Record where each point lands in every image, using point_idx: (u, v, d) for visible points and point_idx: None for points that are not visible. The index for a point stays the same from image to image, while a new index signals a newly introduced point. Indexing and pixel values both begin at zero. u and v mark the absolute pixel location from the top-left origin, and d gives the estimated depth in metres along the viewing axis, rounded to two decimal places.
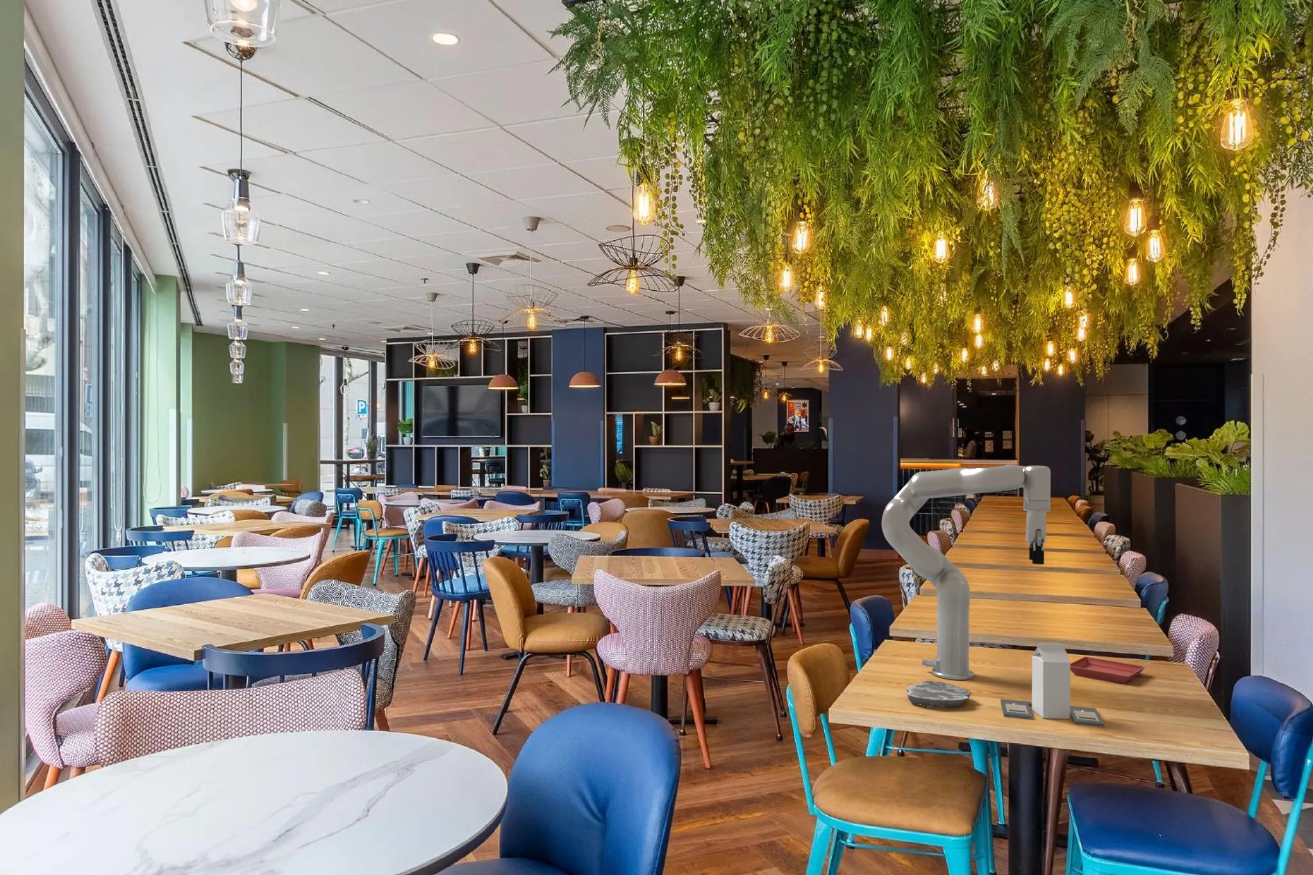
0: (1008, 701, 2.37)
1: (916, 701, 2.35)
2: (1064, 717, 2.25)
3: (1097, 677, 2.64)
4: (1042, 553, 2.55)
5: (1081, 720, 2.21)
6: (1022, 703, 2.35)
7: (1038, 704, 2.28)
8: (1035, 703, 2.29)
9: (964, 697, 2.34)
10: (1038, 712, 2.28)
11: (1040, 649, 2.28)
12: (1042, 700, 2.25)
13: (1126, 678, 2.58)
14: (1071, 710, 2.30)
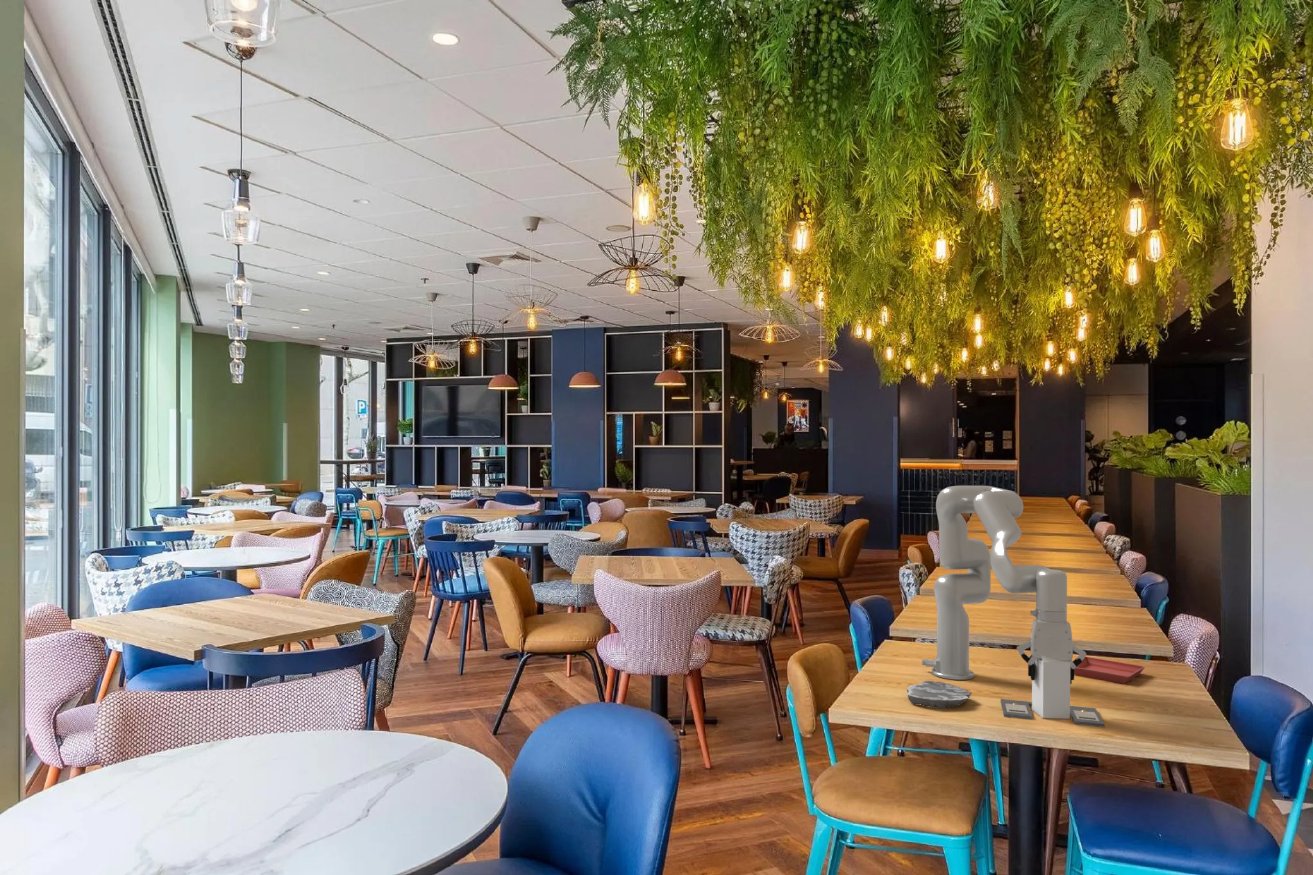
0: (1008, 701, 2.37)
1: (916, 701, 2.35)
2: (1064, 717, 2.25)
3: (1097, 677, 2.64)
4: None
5: (1081, 720, 2.21)
6: (1022, 703, 2.35)
7: (1038, 704, 2.28)
8: (1035, 703, 2.29)
9: (964, 697, 2.34)
10: (1038, 712, 2.28)
11: None
12: (1042, 700, 2.25)
13: (1126, 678, 2.58)
14: (1071, 710, 2.30)
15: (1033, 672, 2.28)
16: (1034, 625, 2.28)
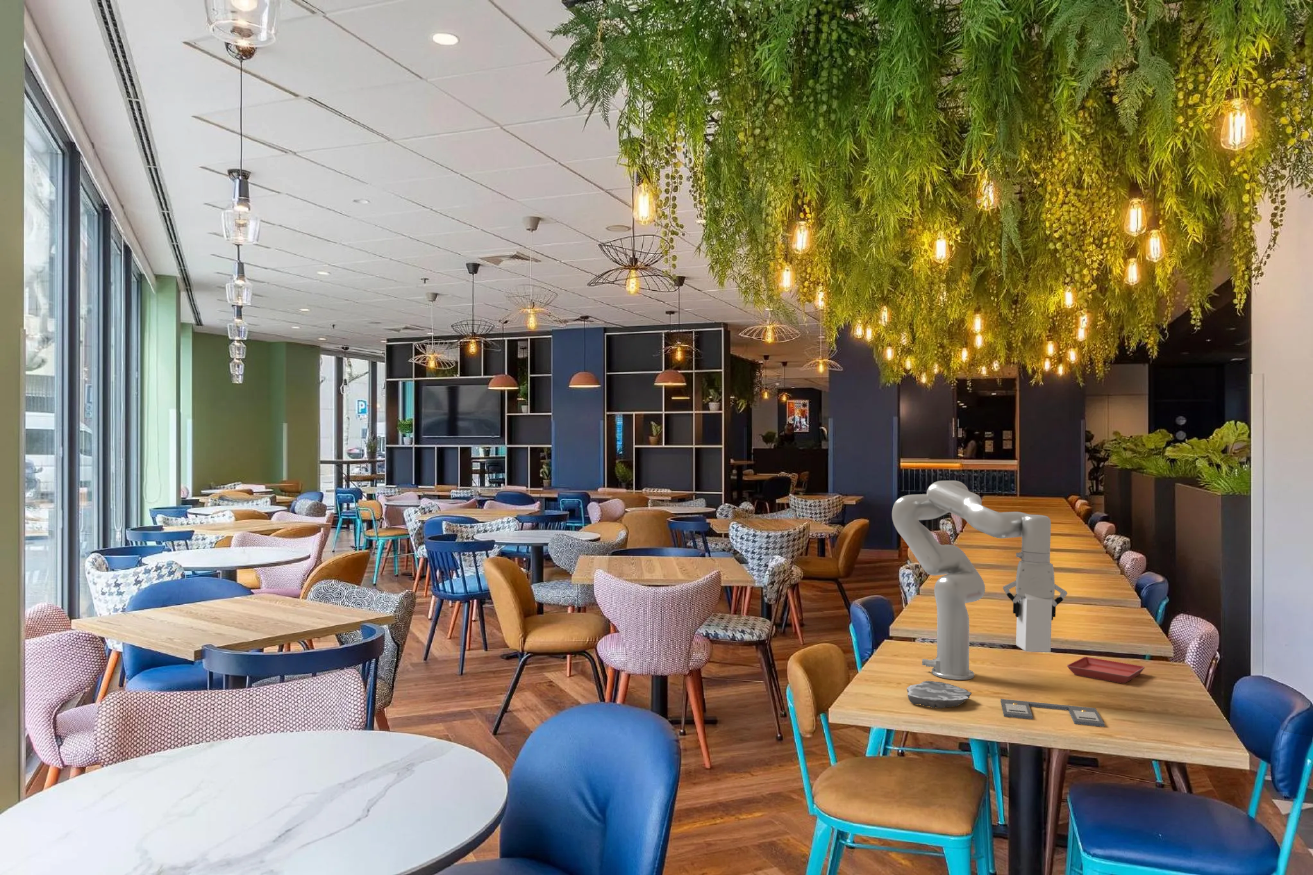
0: (1008, 701, 2.37)
1: (916, 701, 2.35)
2: (1045, 651, 2.42)
3: (1097, 677, 2.64)
4: None
5: (1081, 720, 2.21)
6: (1022, 703, 2.35)
7: (1021, 639, 2.45)
8: (1019, 638, 2.47)
9: (964, 697, 2.34)
10: (1021, 646, 2.45)
11: None
12: (1025, 635, 2.42)
13: (1126, 678, 2.58)
14: (1071, 710, 2.30)
15: (1017, 609, 2.46)
16: (1019, 566, 2.45)
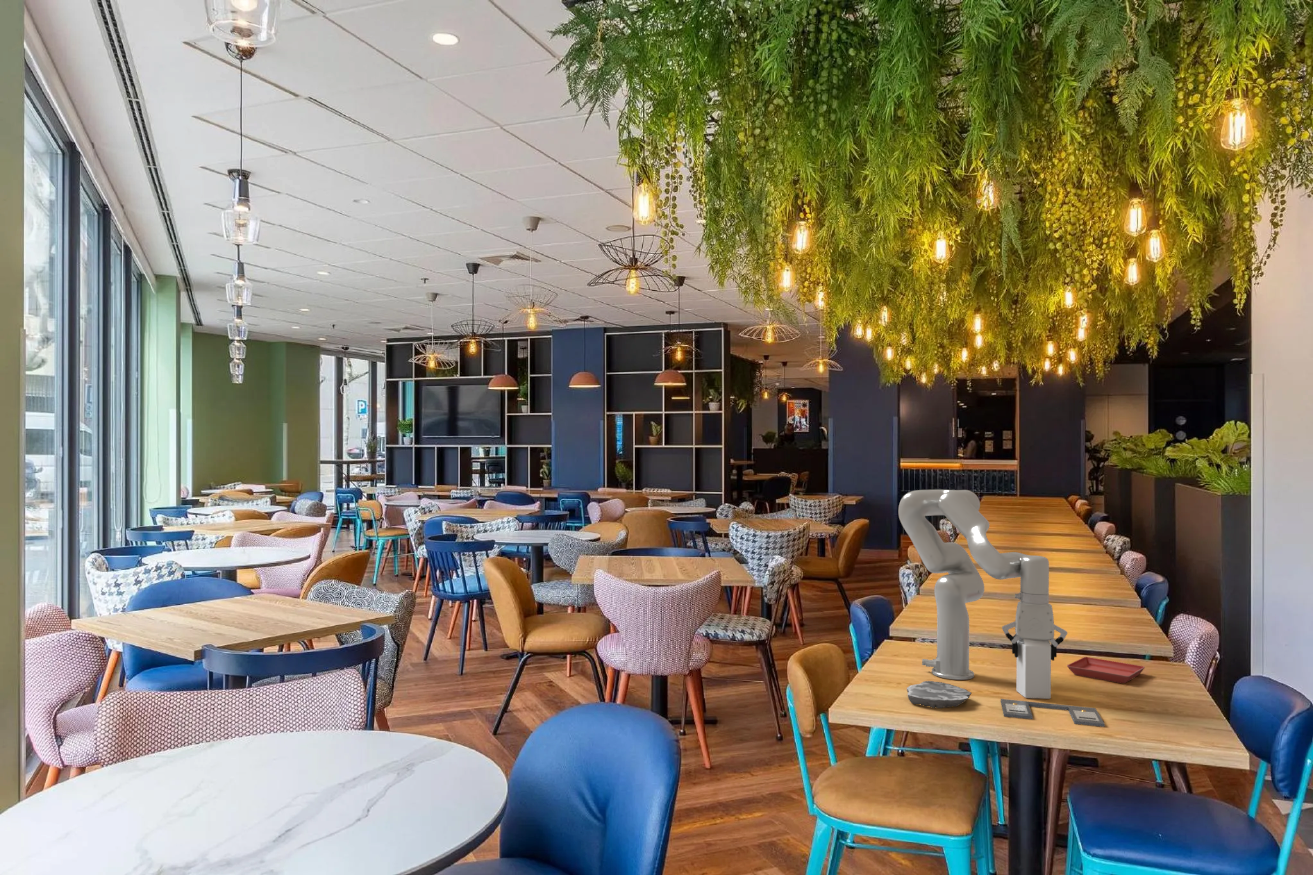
0: (1008, 701, 2.37)
1: (916, 701, 2.35)
2: (1045, 697, 2.42)
3: (1097, 677, 2.64)
4: None
5: (1081, 720, 2.21)
6: (1022, 703, 2.35)
7: (1021, 685, 2.46)
8: (1019, 684, 2.47)
9: (964, 697, 2.34)
10: (1021, 692, 2.46)
11: None
12: (1024, 681, 2.43)
13: (1126, 678, 2.58)
14: (1071, 710, 2.30)
15: (1016, 650, 2.46)
16: (1018, 607, 2.46)
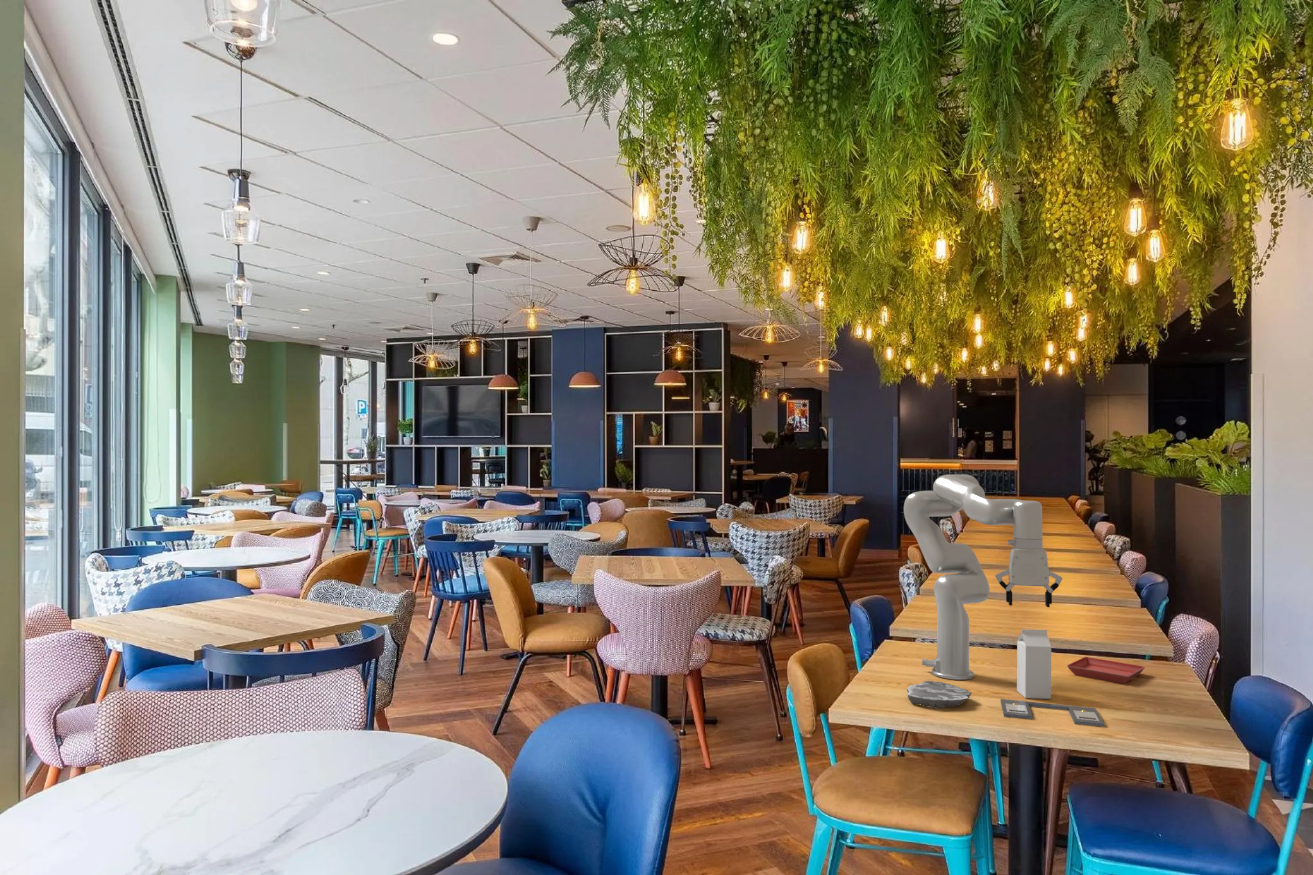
0: (1008, 701, 2.37)
1: (916, 701, 2.35)
2: (1045, 697, 2.42)
3: (1097, 677, 2.64)
4: None
5: (1081, 720, 2.21)
6: (1022, 703, 2.35)
7: (1021, 685, 2.46)
8: (1019, 684, 2.47)
9: (964, 697, 2.34)
10: (1021, 692, 2.46)
11: (1023, 634, 2.46)
12: (1025, 681, 2.43)
13: (1126, 678, 2.58)
14: (1071, 710, 2.30)
15: (1011, 598, 2.39)
16: (1012, 553, 2.39)
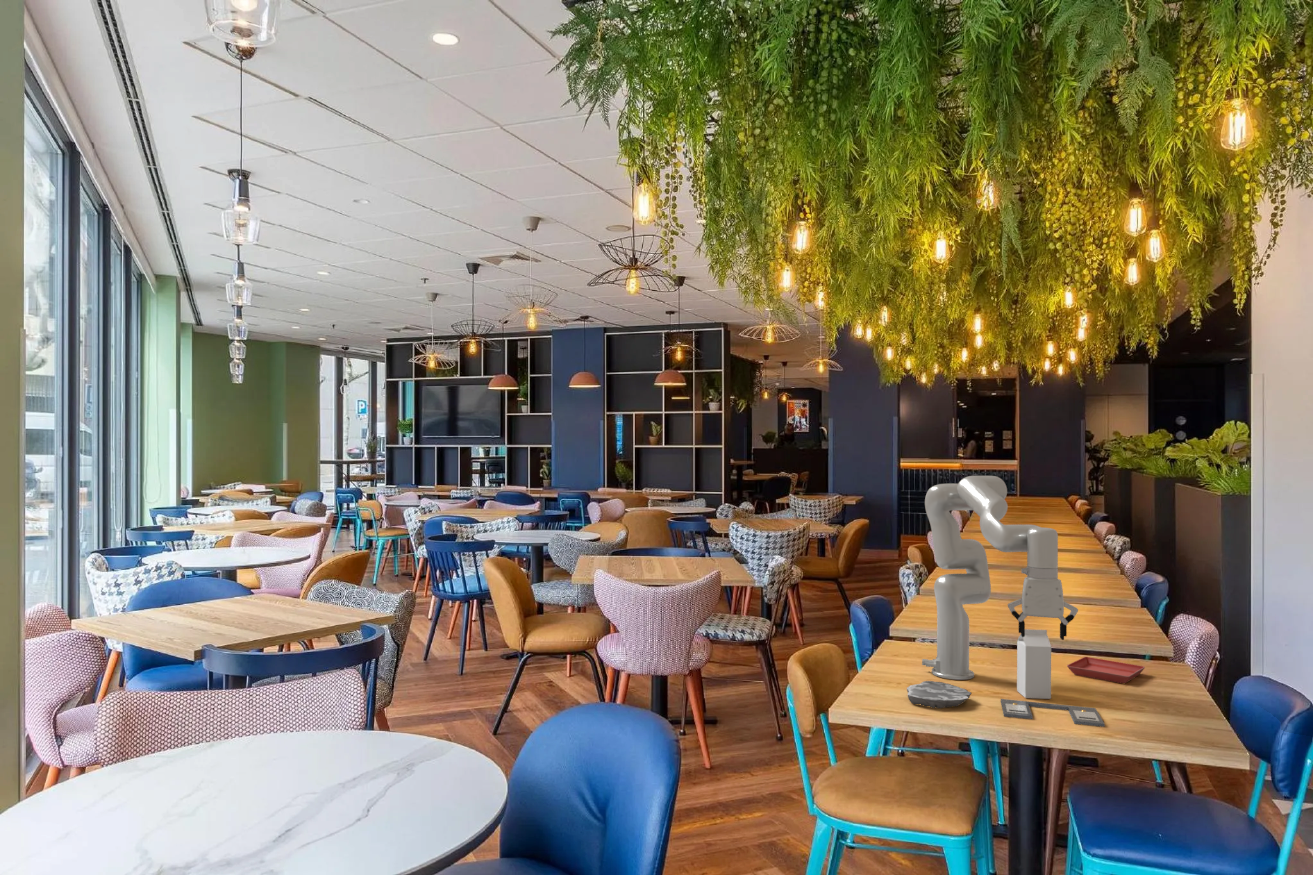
0: (1008, 701, 2.37)
1: (916, 701, 2.35)
2: (1045, 697, 2.42)
3: (1097, 677, 2.64)
4: None
5: (1081, 720, 2.21)
6: (1022, 703, 2.35)
7: (1021, 685, 2.46)
8: (1019, 684, 2.47)
9: (964, 697, 2.34)
10: (1021, 692, 2.46)
11: None
12: (1025, 681, 2.43)
13: (1126, 678, 2.58)
14: (1071, 710, 2.30)
15: (1023, 629, 2.29)
16: (1025, 582, 2.29)
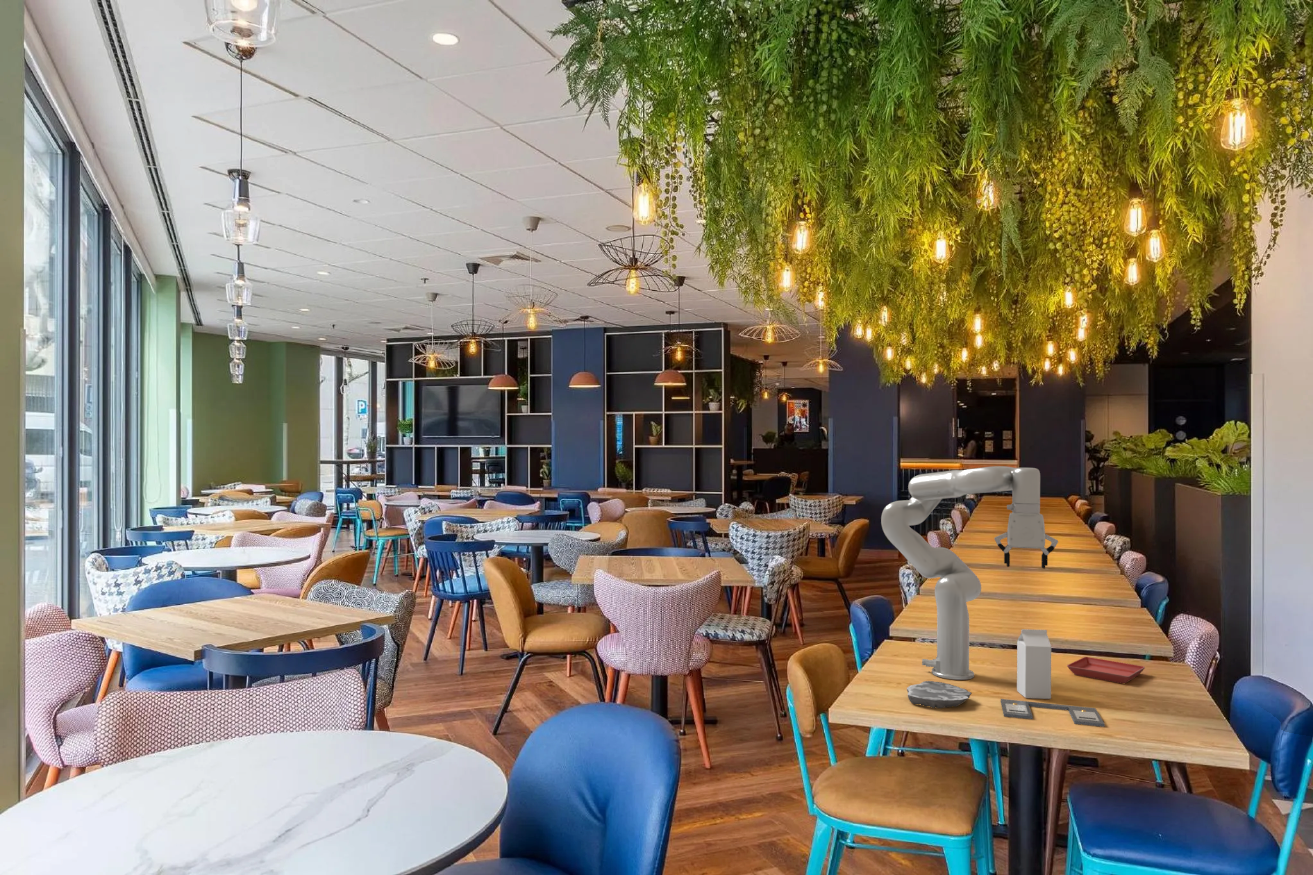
0: (1008, 701, 2.37)
1: (916, 701, 2.35)
2: (1045, 697, 2.42)
3: (1097, 677, 2.64)
4: None
5: (1081, 720, 2.21)
6: (1022, 703, 2.35)
7: (1021, 685, 2.46)
8: (1019, 684, 2.47)
9: (964, 697, 2.34)
10: (1021, 692, 2.46)
11: (1023, 634, 2.46)
12: (1025, 681, 2.43)
13: (1126, 678, 2.58)
14: (1071, 710, 2.30)
15: (1008, 559, 2.52)
16: (1010, 517, 2.51)
